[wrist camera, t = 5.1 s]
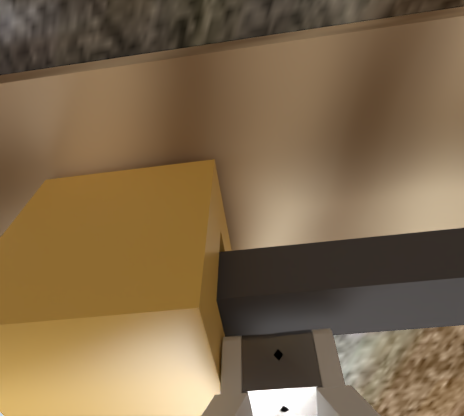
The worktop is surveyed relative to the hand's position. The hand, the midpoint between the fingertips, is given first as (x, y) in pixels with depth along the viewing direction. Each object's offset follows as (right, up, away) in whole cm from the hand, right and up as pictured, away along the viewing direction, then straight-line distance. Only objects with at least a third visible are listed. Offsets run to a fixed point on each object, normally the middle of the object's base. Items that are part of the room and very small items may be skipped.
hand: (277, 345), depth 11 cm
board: (-3, +4, +6) cm, 7 cm away
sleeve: (-4, +2, +4) cm, 7 cm away
